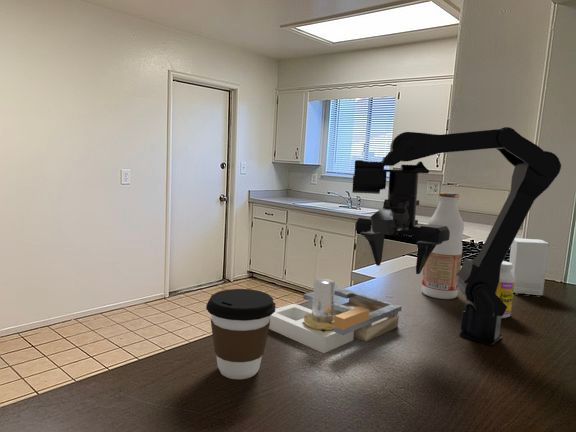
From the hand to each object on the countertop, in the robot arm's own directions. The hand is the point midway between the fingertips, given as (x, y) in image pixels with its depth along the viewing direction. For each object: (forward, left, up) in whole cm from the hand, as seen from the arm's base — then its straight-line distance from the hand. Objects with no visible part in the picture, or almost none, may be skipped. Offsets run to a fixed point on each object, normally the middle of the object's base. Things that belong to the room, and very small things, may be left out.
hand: (397, 269), depth 89 cm
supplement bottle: (-12, -28, -13) cm, 33 cm away
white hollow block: (+9, +17, -13) cm, 23 cm away
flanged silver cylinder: (+6, +17, -12) cm, 22 cm away
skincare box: (-11, -55, -13) cm, 58 cm away
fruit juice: (+4, -32, -13) cm, 35 cm away
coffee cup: (+6, +37, -13) cm, 39 cm away
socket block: (+5, +5, -13) cm, 15 cm away
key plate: (+8, +9, -9) cm, 15 cm away
